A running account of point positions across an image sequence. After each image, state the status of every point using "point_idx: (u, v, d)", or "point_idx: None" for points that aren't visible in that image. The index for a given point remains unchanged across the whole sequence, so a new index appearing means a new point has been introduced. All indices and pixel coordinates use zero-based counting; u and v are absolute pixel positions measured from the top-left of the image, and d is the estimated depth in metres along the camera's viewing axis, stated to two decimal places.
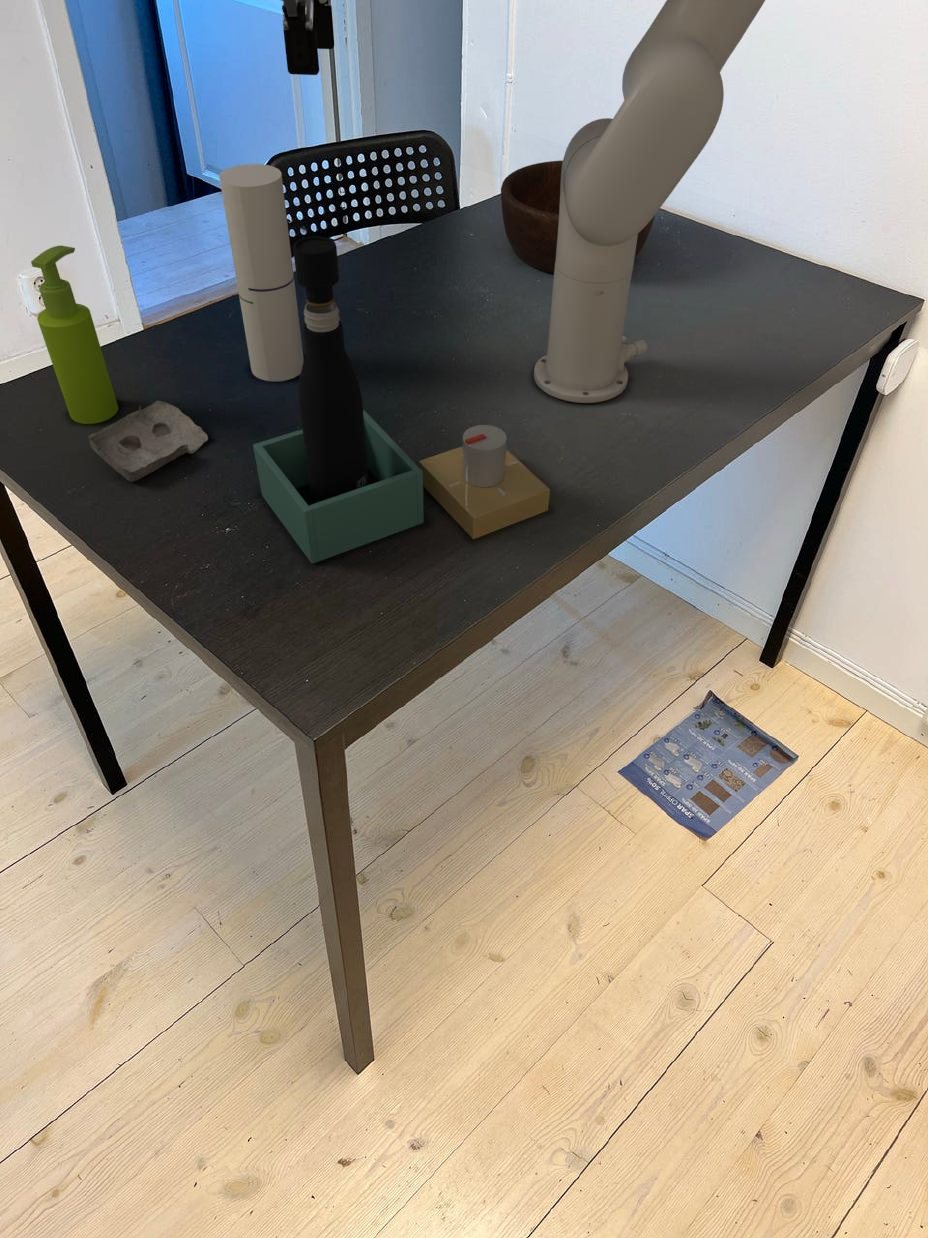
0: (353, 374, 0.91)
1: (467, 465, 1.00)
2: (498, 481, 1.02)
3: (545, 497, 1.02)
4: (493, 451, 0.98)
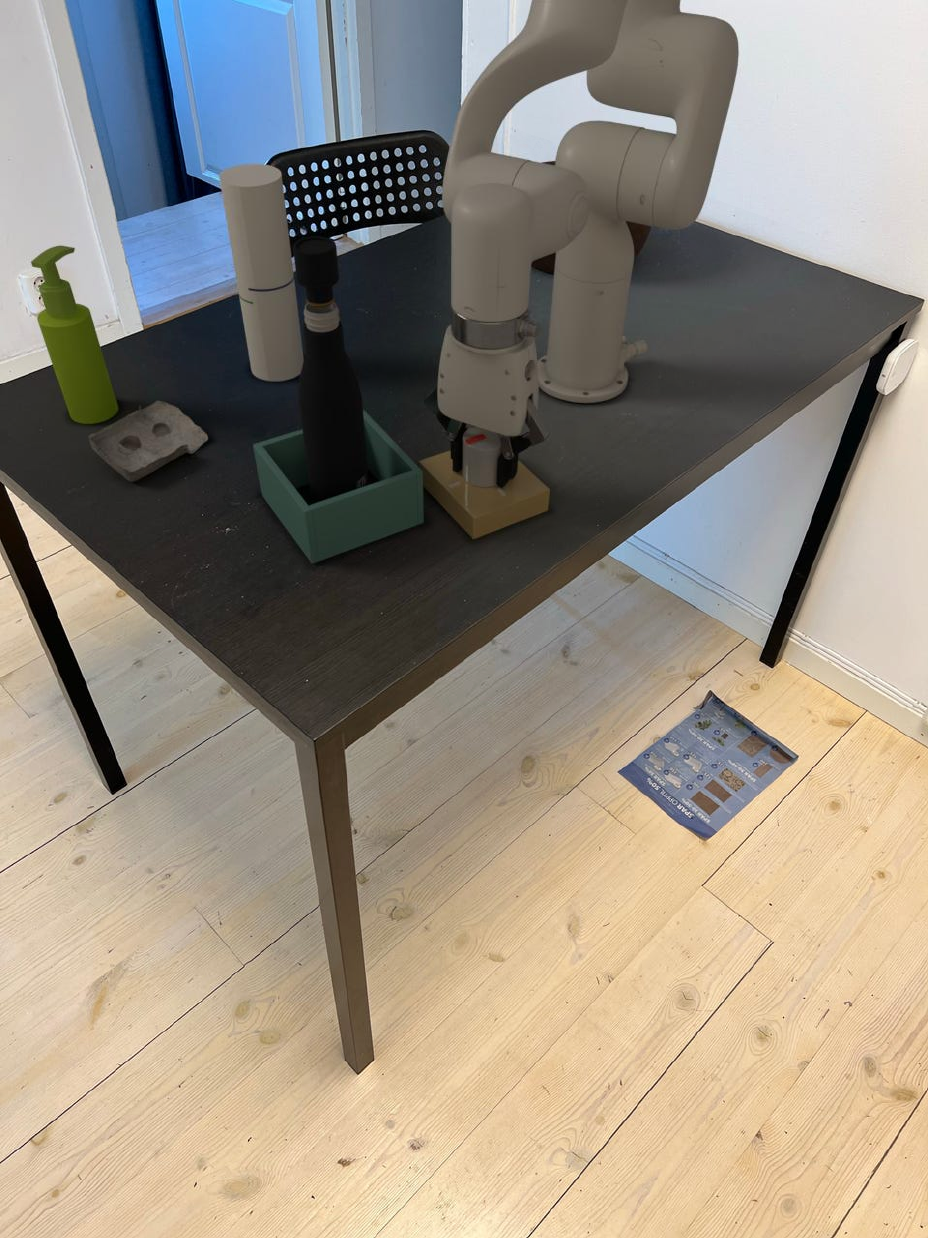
0: (353, 374, 0.91)
1: (467, 465, 1.00)
2: None
3: (545, 497, 1.02)
4: (493, 451, 0.98)
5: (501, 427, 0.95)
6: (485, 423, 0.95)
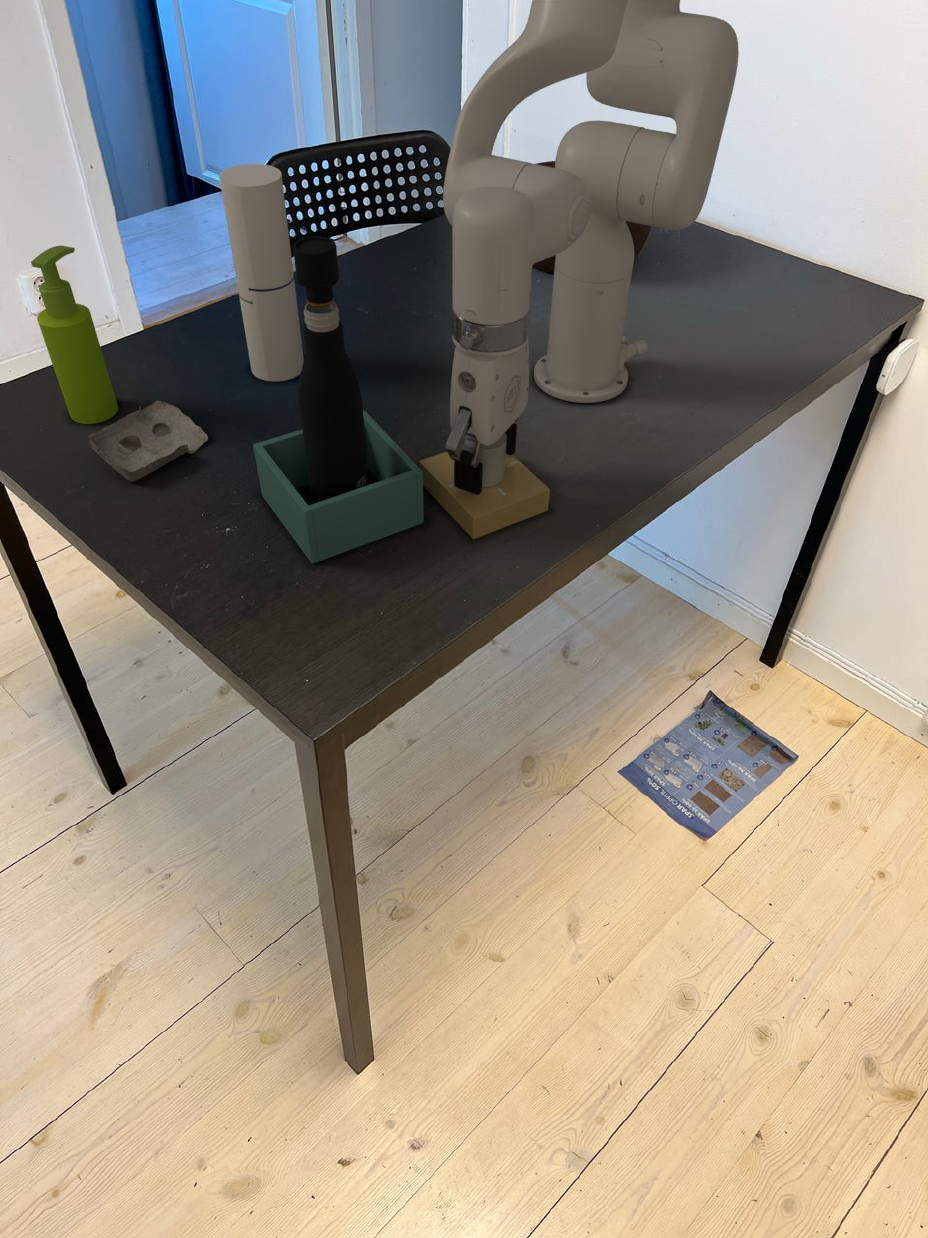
0: (353, 374, 0.91)
1: None
2: None
3: (545, 497, 1.02)
4: (464, 444, 0.99)
5: None
6: None
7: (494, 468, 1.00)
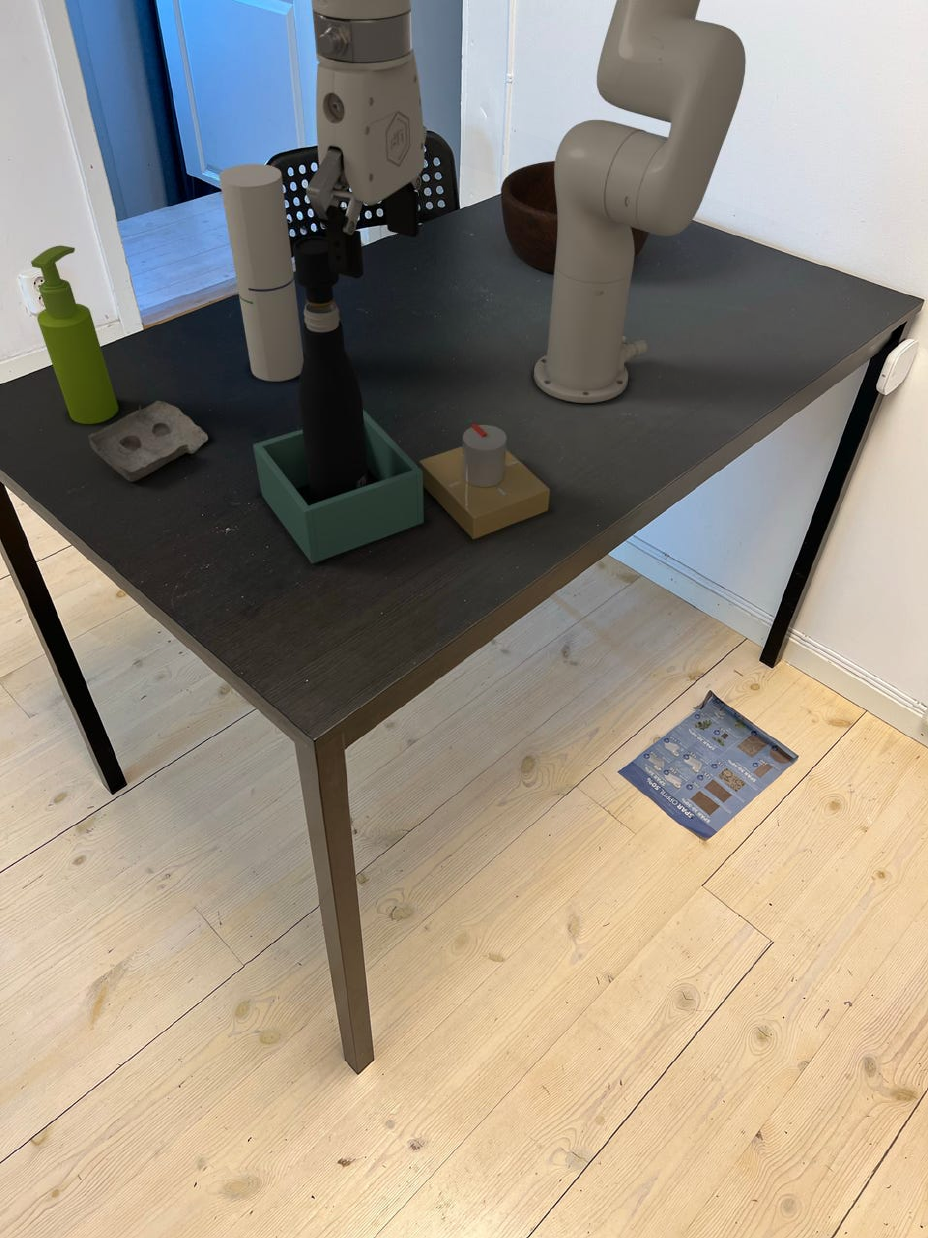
0: (353, 374, 0.91)
1: None
2: (467, 480, 1.02)
3: (545, 497, 1.02)
4: (464, 444, 0.99)
5: None
6: None
7: (494, 468, 1.00)
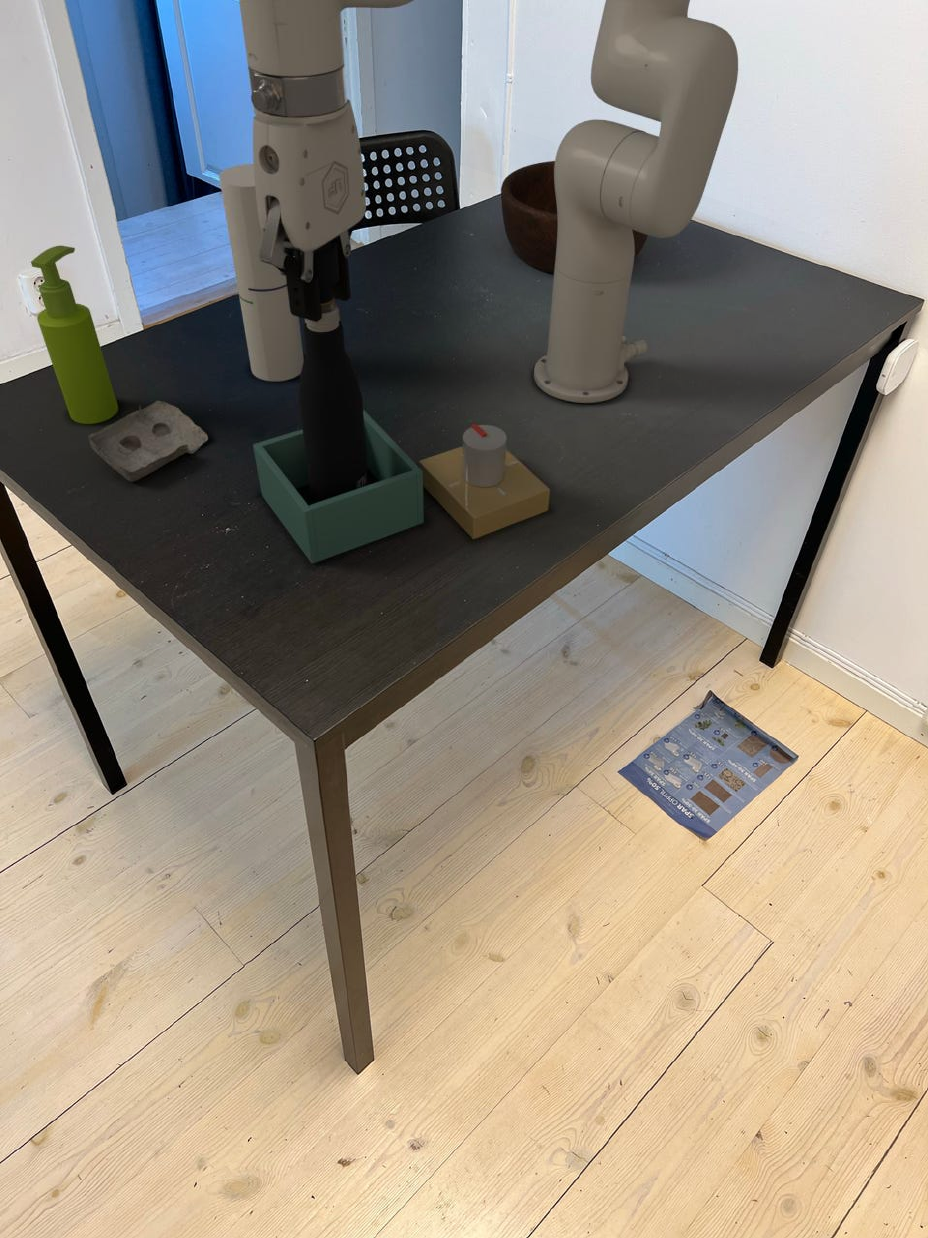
0: (353, 374, 0.91)
1: None
2: (467, 480, 1.02)
3: (545, 497, 1.02)
4: (464, 444, 0.99)
5: None
6: None
7: (494, 468, 1.00)
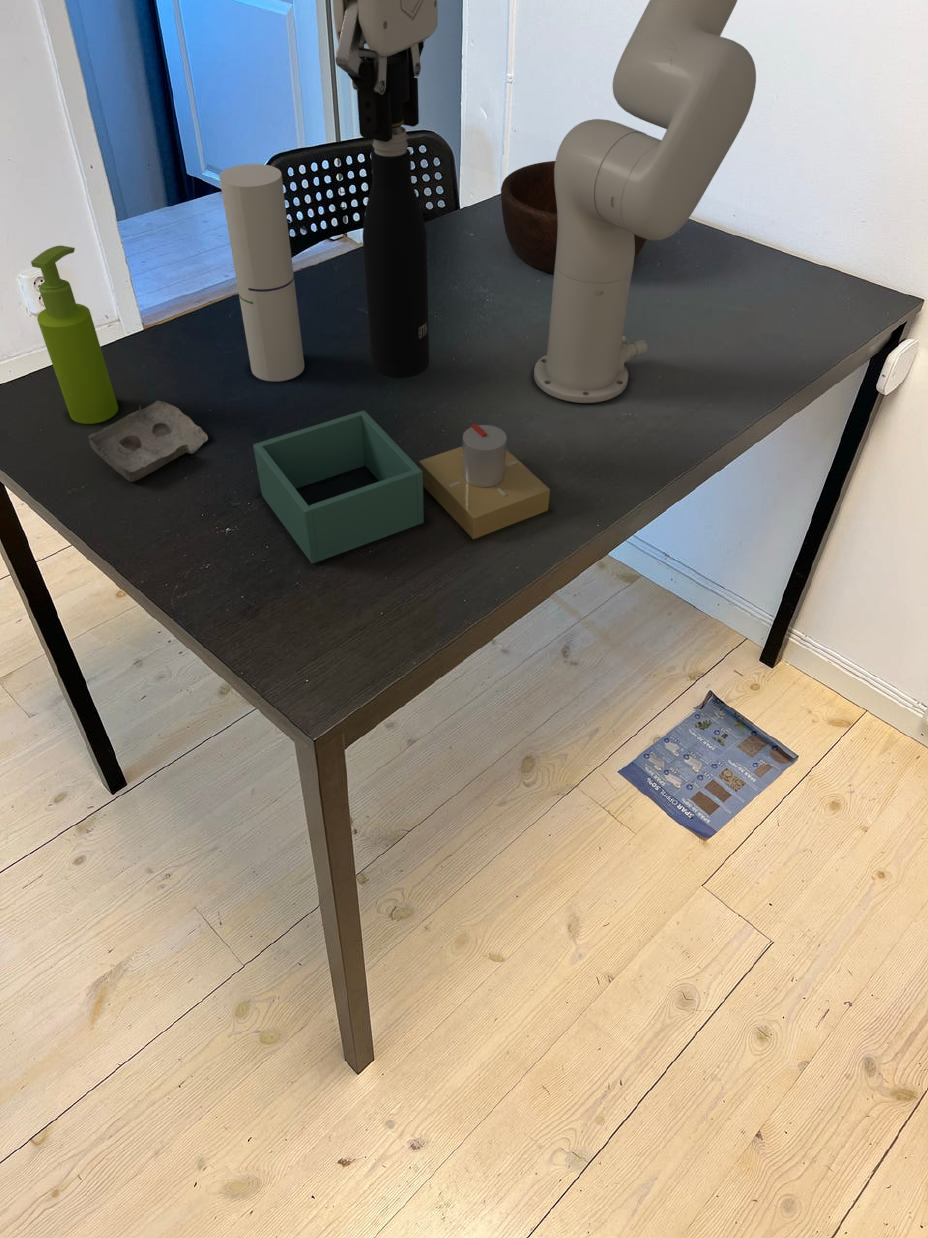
0: (419, 207, 0.90)
1: None
2: (467, 480, 1.02)
3: (545, 497, 1.02)
4: (464, 444, 0.99)
5: None
6: None
7: (494, 468, 1.00)
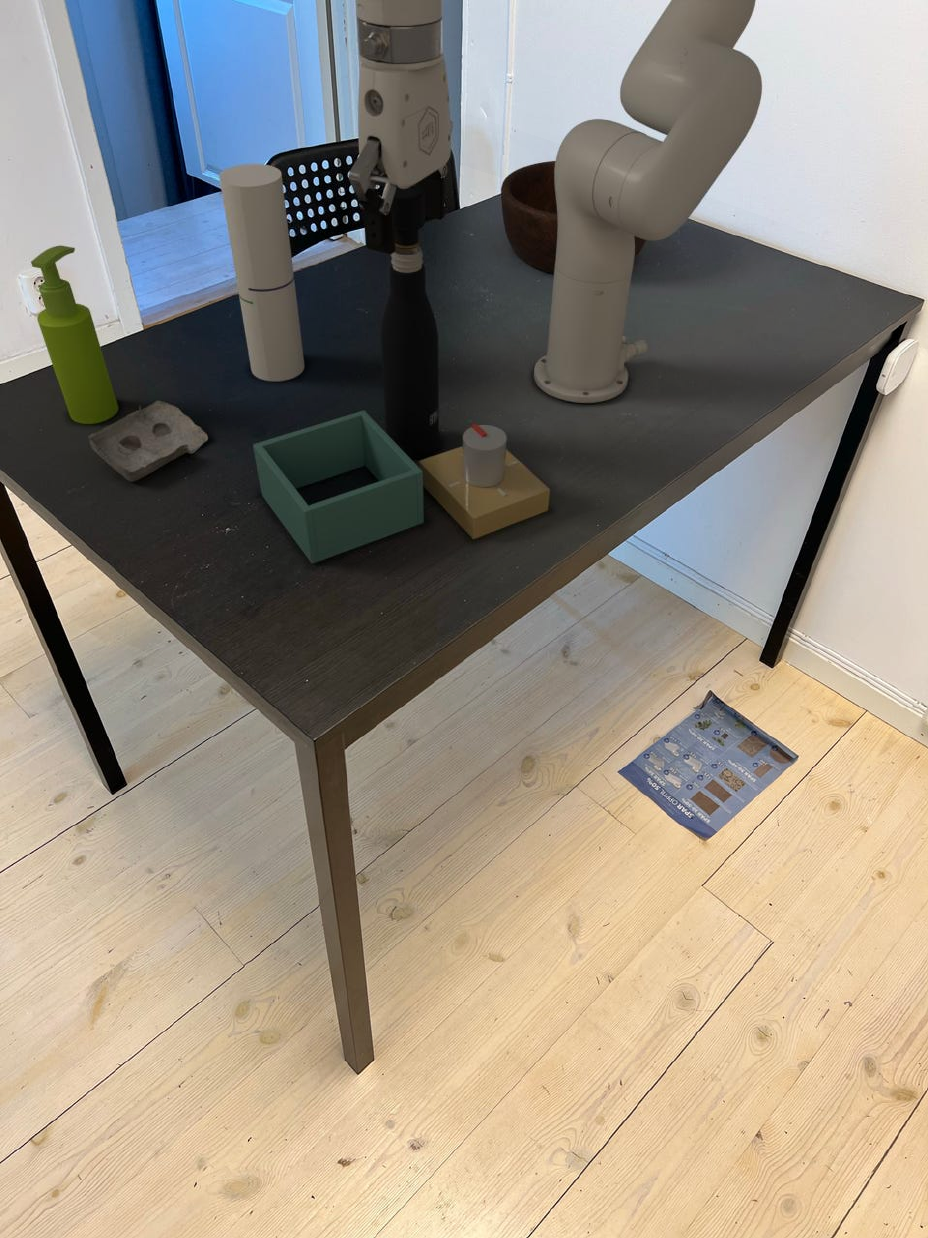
0: (432, 313, 1.00)
1: None
2: (467, 480, 1.02)
3: (545, 497, 1.02)
4: (464, 444, 0.99)
5: None
6: None
7: (494, 468, 1.00)
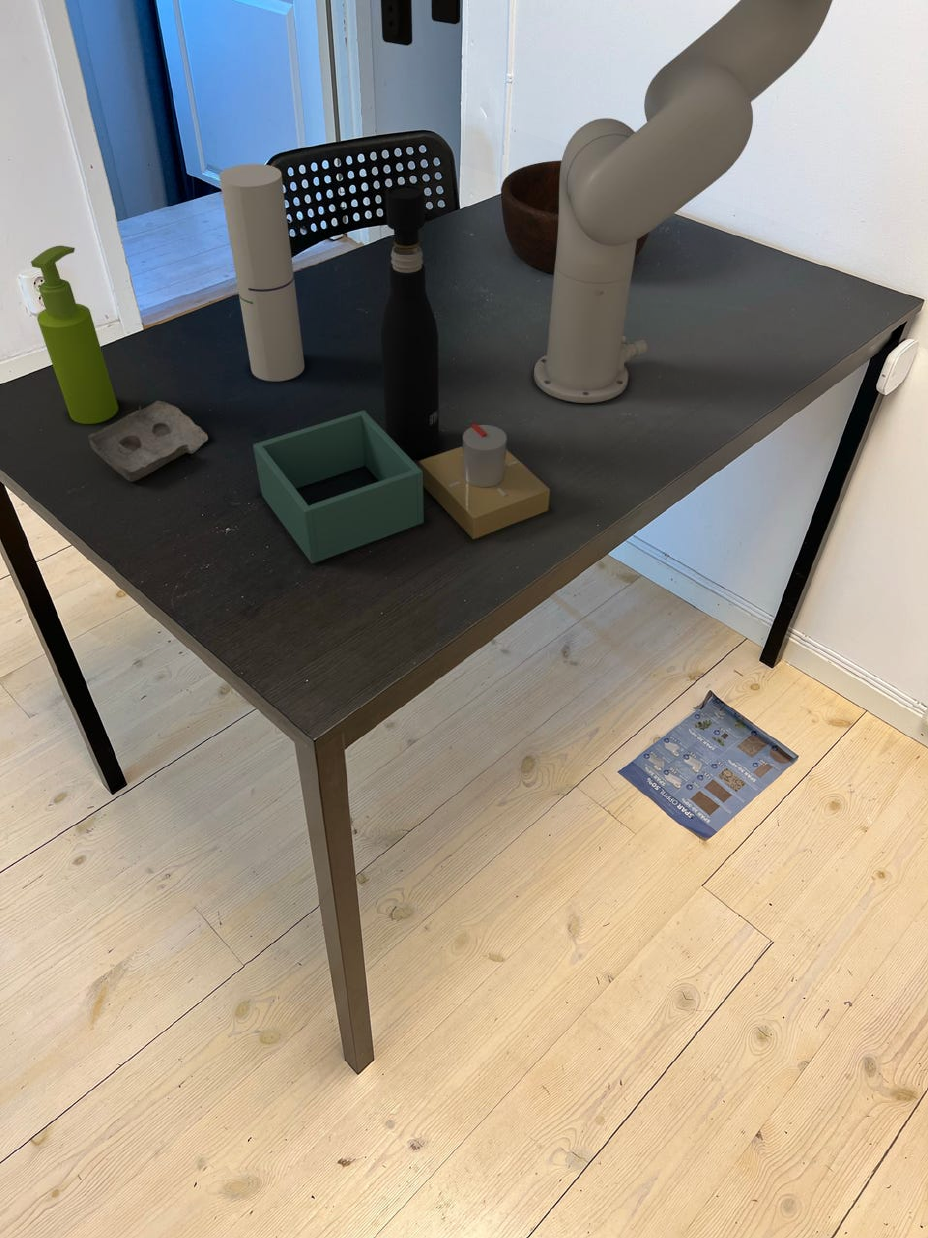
0: (432, 313, 1.00)
1: None
2: (467, 480, 1.02)
3: (545, 497, 1.02)
4: (464, 444, 0.99)
5: None
6: None
7: (494, 468, 1.00)
